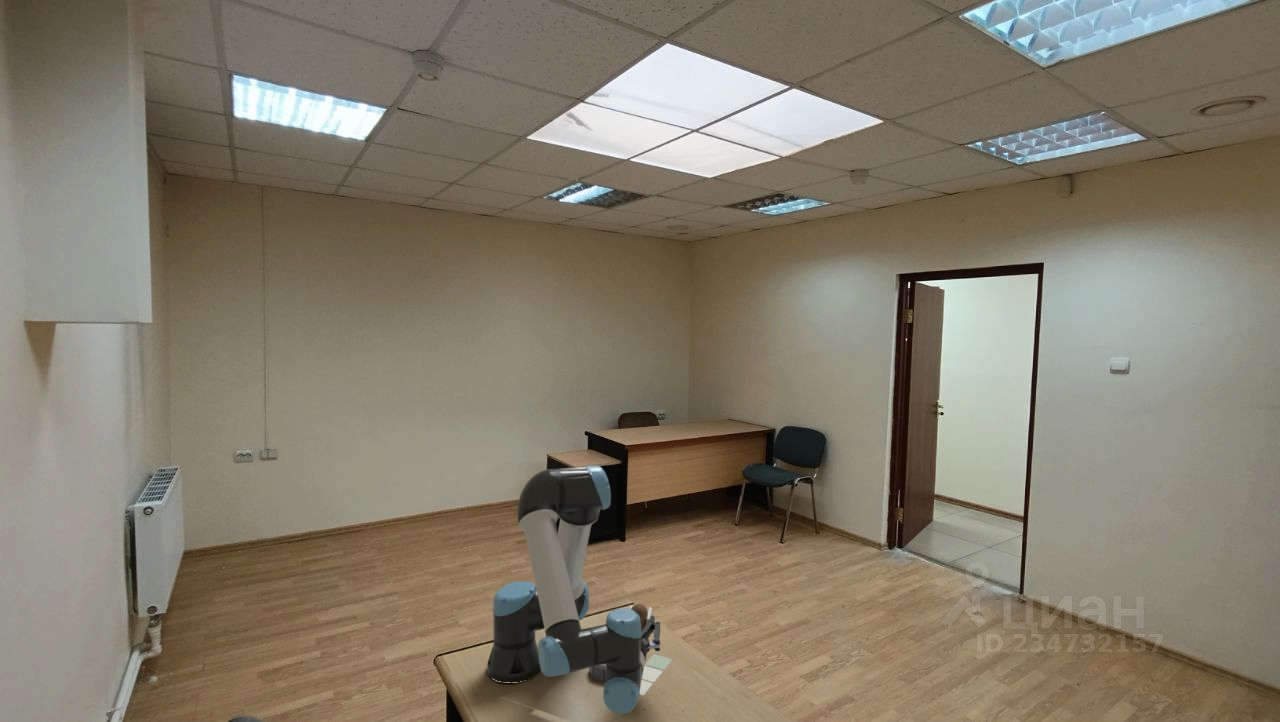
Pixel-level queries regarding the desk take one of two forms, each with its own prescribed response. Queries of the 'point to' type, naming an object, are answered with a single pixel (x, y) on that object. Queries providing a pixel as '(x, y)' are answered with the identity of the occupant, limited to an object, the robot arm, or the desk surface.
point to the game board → (652, 671)
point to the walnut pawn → (641, 614)
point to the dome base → (598, 673)
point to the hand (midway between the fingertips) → (640, 611)
